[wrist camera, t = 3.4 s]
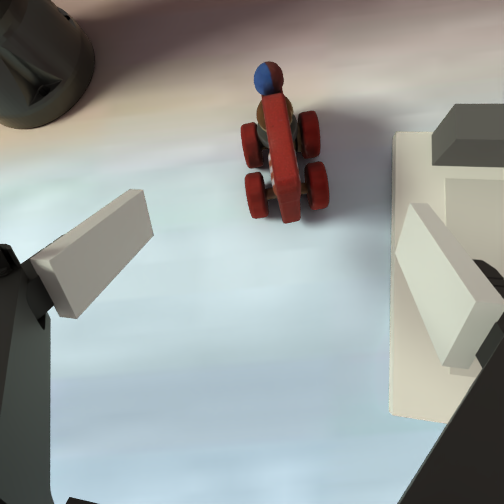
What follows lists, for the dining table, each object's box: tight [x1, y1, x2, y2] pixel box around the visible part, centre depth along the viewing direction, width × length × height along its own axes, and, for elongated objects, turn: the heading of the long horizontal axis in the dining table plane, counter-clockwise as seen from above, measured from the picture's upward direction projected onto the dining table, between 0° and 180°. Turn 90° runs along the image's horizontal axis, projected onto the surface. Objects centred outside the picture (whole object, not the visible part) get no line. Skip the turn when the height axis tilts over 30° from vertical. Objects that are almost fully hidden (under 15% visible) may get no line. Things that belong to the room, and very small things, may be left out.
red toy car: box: [241, 62, 329, 223], centre depth 24 cm, size 7×12×10 cm, turn 6°
